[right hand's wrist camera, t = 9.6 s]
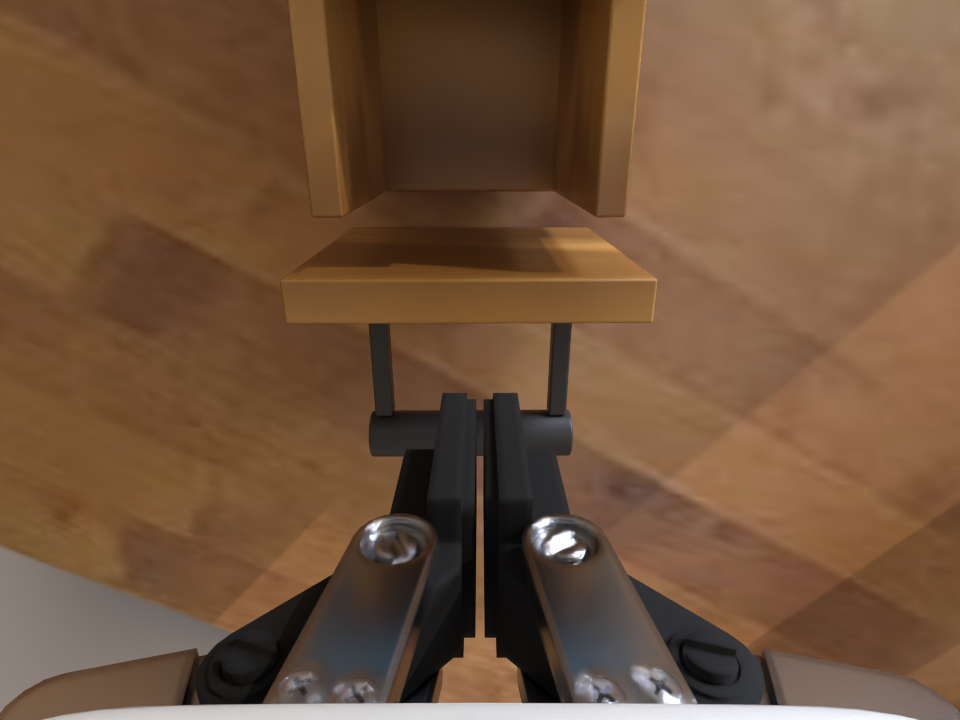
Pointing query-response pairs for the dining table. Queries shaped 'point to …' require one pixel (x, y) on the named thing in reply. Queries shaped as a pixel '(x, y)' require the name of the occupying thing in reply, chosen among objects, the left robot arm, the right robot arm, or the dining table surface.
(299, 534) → the dining table surface
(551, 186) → the drawer
